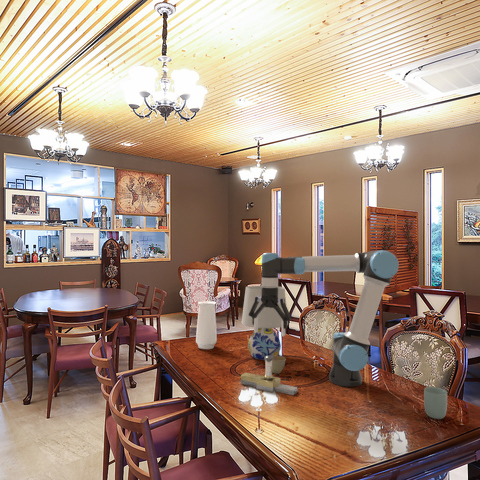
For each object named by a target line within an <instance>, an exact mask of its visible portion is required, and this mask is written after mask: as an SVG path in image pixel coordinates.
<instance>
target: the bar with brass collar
mask: <svg viewBox="0 0 480 480" xmlns="http://www.w3.org/2000/svg"><path fill="white" fill-rule="evenodd" d="M240 384H241V385H245V386H247V387H248V386H249V387H253V388H256V390H260V391H264V392H269V393H275V392H277V393H281V394H286V395H290V396H295V395H296V394H297V393H298V387H297V386H293V385H287V384H285V383H284V384H282V383H281V377H276V376H273V375H272V381H267V380H265V374H264V375H259V374H256V373H255V374H254V373H249V372H244V373H243V374H241V375H240Z"/></svg>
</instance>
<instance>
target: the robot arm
mask: <svg viewBox="0 0 480 480" xmlns="http://www.w3.org/2000/svg"><path fill="white" fill-rule="evenodd" d="M399 266H400V265H399V260H398V258H397V257H396V255H395V254H394V253H392V252H390V251H388V250H385V249H381V250H371V251H365V252H355V254H348V255H347V254H346V255H343V254H342V255H308V256H286V257H280V256H279V253H277V252H264V253H263V254H262V256H261V286H263V287H262V292H261V294H262V297H259V296H257V297H255V302H254V304H253V306H252V308H251V310H250V312H249V316H251V317H252V324H253V325H254V327H253V332H254V333H256V332H258V317H257V315H258V314H259V313H260V312H261V311H262V309H263V308H264V307H270V308H274V309H275V310H276V311H277V313H278V314H279V315H280V317H281V318H282V320H283V321H282V322H281V327H280V328H281V333H280V334H281V337H284V336H286V329H287V328H288V325H287V321H288V322H289V321H291V320H292V316H291V314H290V311H289V308H288V307H287V303H286V304H285V299H284V298H282V299H278V288H277V286H278V287H279V275H303V274H305V273H317V272H321V273H323V272H355V273H357V274H363V275H362V277H363V279H364V282H363V283H364V284H363V287H362V289H361V293H360V295H359V298H358V302H357V304H356V307H355V311H354V314H353V316H352V320H351V323H350V325H349V329H348V331H347V332H334V334H333V338H332V341H333V343H332V344H333V346H332V347H333V350H332V351H333V353H332V355H333V356H332V360H333V361H332V366H331V369H330V372H329V376H328V377H329V378H328V380H329V382H330V383H332V384H333V385H337V386H340V387H349V388H350V387H351V388H352V387H354V388H355V387H359V386H361V385H362V384H363V377H362V373H361V370H363V369H364V368H366V366H367V364H368V362H369V354H368V352H369V348H370V346H371V342H370V340H369V336H370V333H371V330H372V327H373V324H374V322H375V318H376V315H377V313H378V308H379V306H380V303H381V300H382V297H383V294H384V292H385V288H386V287H388V286H390V284H391V282H392V278H393V277H394V276H395V275H396V274H397V273H398V271H399ZM260 300H261V301H262V304H261V305H260V307H259V308H258V309H257V311H256V312H255V310H256V308H257V306H258V303H259V301H260ZM278 302H279V303H280V304H281V307H282V309H283V311H284V313H283V312H282V310H281V309H280V307H279V305H278V304H277V303H278ZM254 312H255V313H254Z"/></svg>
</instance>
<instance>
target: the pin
mask: <svg viewBox="0 0 480 480" xmlns="http://www.w3.org/2000/svg"><path fill="white" fill-rule="evenodd" d="M264 359H265V360H264V362H265V373H264V375H265V380H267V381H272V376H273V373H272V360H273V356H270V355H267V356H264Z"/></svg>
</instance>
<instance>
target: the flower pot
mask: <svg viewBox="0 0 480 480" xmlns="http://www.w3.org/2000/svg"><path fill="white" fill-rule="evenodd" d="M286 361H287V359H286V357H284V356H282V355H277V356H275V355H274V356H273V360H272V374H275V375H276V374H280V373H282V371H283V369H284V368H285V365H286Z"/></svg>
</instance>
